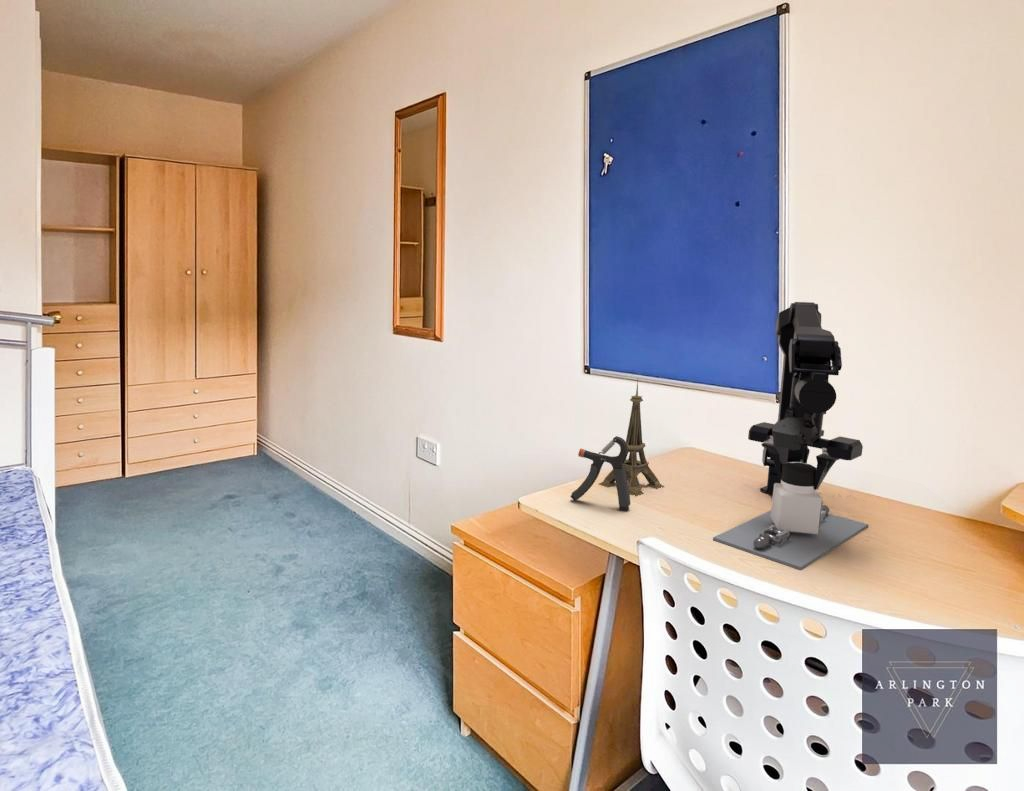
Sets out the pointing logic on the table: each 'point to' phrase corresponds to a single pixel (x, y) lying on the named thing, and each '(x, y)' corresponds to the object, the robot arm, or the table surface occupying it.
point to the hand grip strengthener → (617, 469)
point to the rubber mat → (793, 539)
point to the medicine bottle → (796, 500)
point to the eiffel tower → (634, 454)
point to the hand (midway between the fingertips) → (798, 485)
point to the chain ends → (779, 533)
